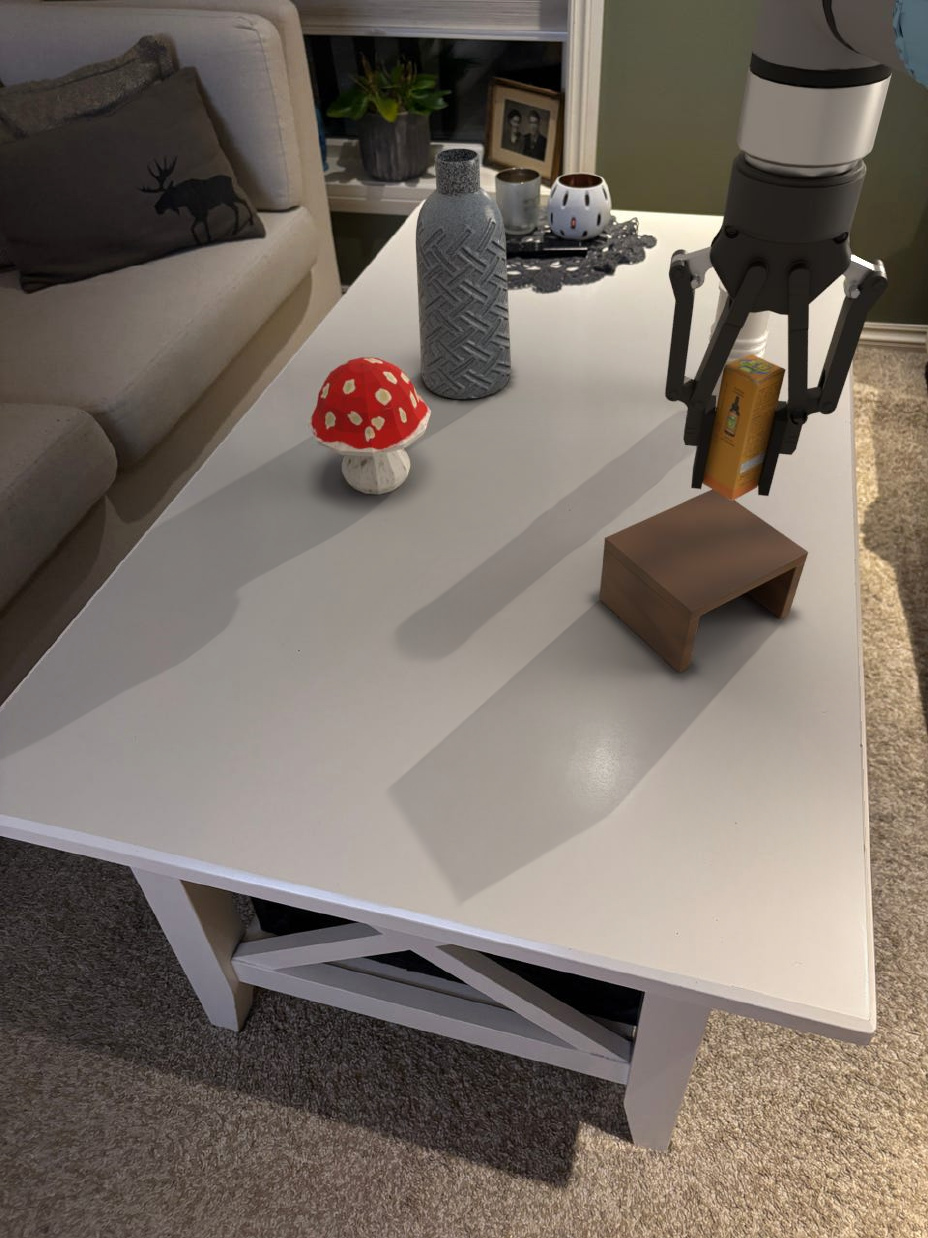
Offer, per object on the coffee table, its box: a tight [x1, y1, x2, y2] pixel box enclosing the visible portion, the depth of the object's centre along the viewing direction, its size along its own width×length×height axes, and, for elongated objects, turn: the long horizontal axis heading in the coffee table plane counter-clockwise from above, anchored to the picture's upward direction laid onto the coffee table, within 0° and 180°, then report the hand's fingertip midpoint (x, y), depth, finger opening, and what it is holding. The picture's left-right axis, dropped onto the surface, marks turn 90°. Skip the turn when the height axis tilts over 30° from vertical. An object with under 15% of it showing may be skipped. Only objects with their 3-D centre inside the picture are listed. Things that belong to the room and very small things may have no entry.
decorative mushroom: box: [307, 356, 432, 495], centre depth 99 cm, size 14×14×15 cm
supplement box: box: [702, 355, 787, 501], centre depth 64 cm, size 3×3×10 cm
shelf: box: [598, 489, 809, 674], centre depth 84 cm, size 12×14×8 cm
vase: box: [415, 147, 512, 400], centre depth 110 cm, size 12×12×28 cm
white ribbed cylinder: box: [707, 279, 772, 407], centre depth 108 cm, size 7×7×15 cm
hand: (730, 481), depth 67 cm, fingers closed on supplement box, 4 cm apart
